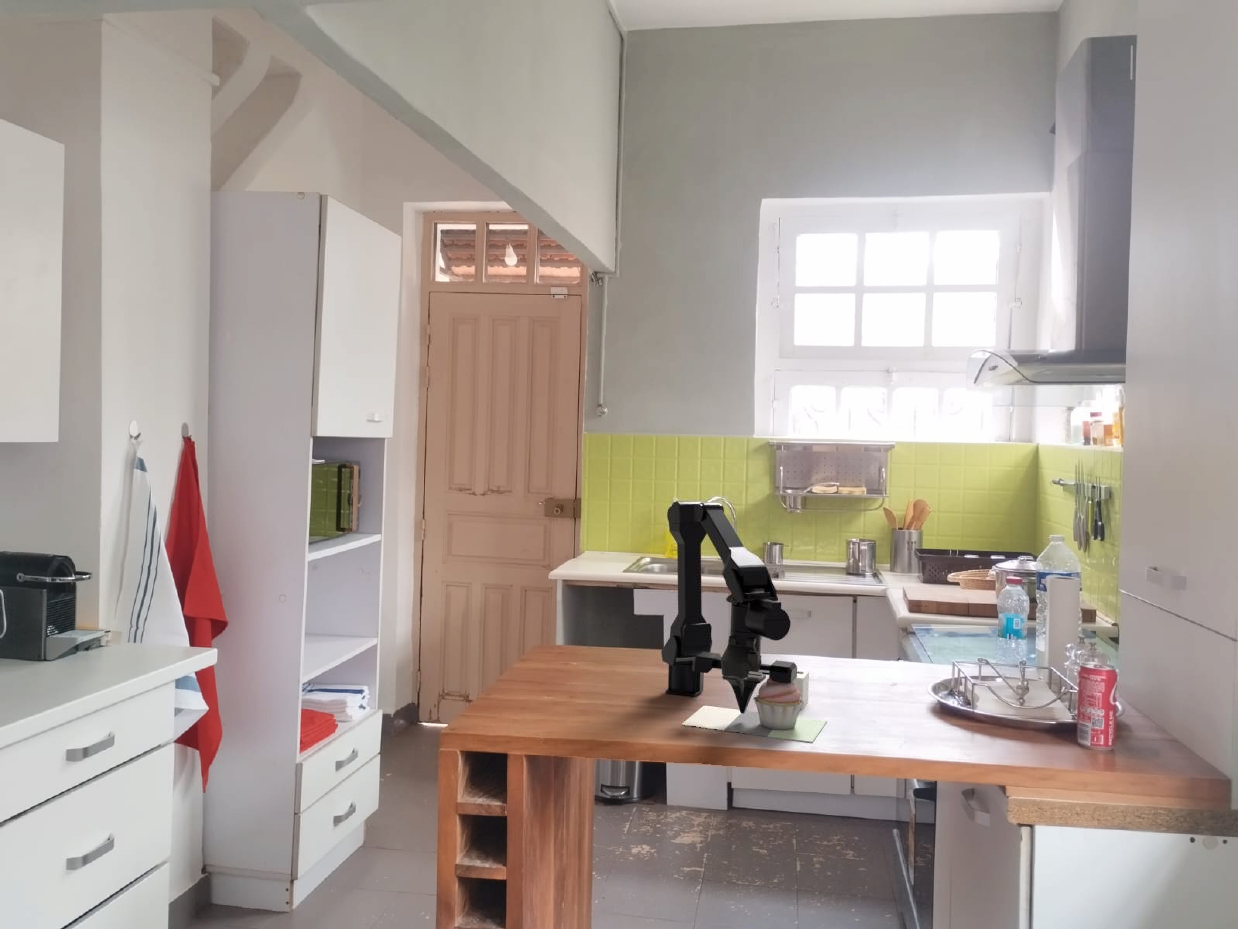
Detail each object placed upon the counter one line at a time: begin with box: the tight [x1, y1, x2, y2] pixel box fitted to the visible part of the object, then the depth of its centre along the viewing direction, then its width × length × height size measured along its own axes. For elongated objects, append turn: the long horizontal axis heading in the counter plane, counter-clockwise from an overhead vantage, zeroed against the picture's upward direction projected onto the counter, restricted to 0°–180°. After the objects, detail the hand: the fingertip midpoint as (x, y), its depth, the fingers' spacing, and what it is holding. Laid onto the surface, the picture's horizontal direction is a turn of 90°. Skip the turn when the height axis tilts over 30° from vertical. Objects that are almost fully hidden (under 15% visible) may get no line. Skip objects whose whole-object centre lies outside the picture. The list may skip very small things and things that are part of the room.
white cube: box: [793, 670, 810, 709], centre depth 196 cm, size 6×6×6 cm
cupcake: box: [753, 676, 805, 730], centre depth 179 cm, size 9×9×10 cm
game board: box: [681, 705, 828, 744], centre depth 181 cm, size 24×14×1 cm, turn 68°
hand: (742, 713), depth 182 cm, fingers closed
